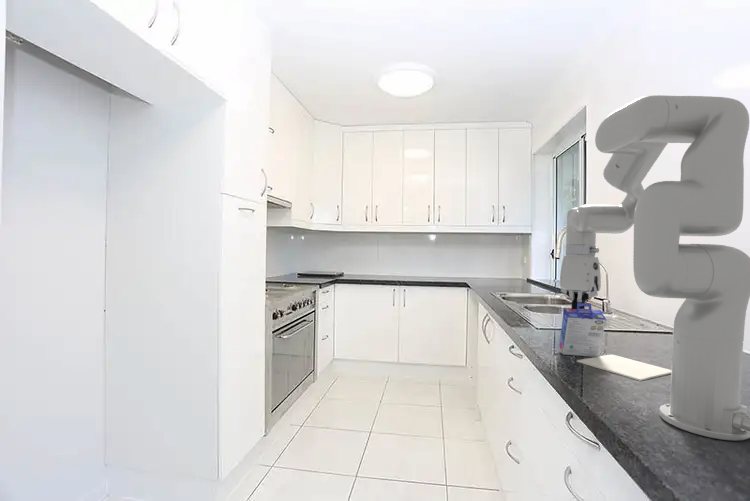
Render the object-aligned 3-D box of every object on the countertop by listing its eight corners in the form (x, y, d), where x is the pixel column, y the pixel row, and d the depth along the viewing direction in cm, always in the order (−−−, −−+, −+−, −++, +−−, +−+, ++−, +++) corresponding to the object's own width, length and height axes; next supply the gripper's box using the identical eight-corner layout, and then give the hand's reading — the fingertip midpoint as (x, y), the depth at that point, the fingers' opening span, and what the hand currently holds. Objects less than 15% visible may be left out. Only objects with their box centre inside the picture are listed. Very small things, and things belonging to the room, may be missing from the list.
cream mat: (674, 372, 101) (674, 371, 101) (639, 381, 94) (640, 379, 94) (611, 355, 115) (611, 354, 115) (577, 361, 108) (577, 360, 108)
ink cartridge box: (593, 346, 117) (602, 302, 112) (600, 357, 112) (609, 312, 107) (557, 343, 119) (564, 300, 113) (562, 355, 114) (569, 310, 108)
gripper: (614, 252, 111) (611, 319, 111) (565, 250, 124) (563, 310, 124) (597, 252, 107) (594, 321, 108) (549, 250, 120) (546, 311, 121)
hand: (577, 315), depth 116 cm, fingers closed
